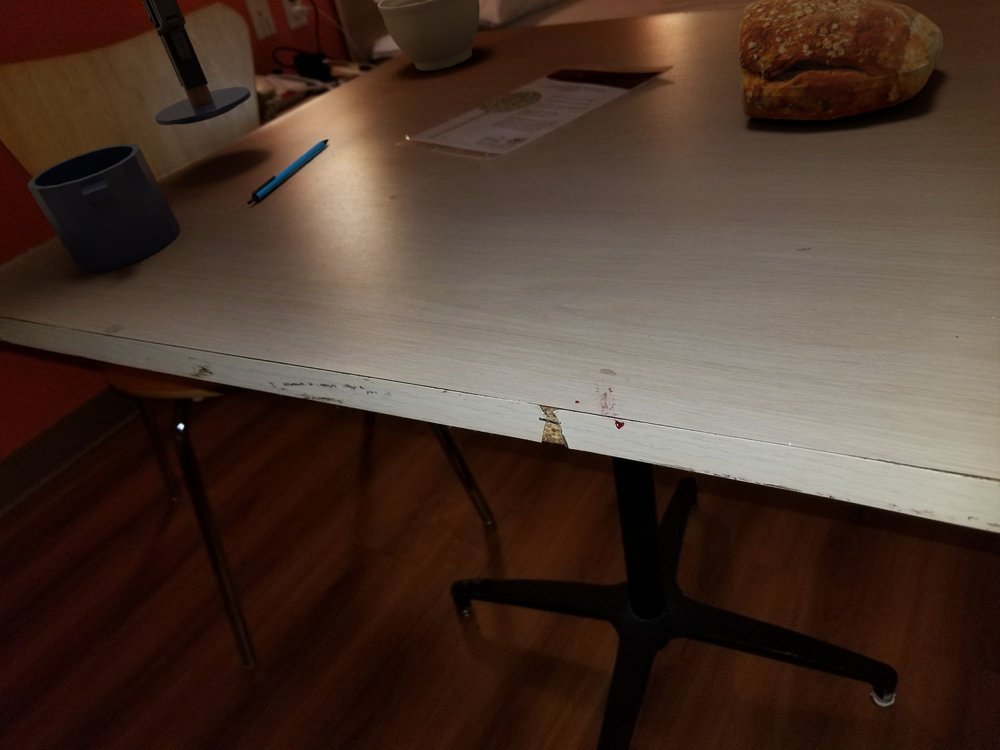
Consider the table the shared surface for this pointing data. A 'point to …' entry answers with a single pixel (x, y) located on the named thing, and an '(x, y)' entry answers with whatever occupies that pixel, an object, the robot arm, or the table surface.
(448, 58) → the planter bowl
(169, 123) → the lid
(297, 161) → the pen
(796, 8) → the bread
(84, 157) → the pot
